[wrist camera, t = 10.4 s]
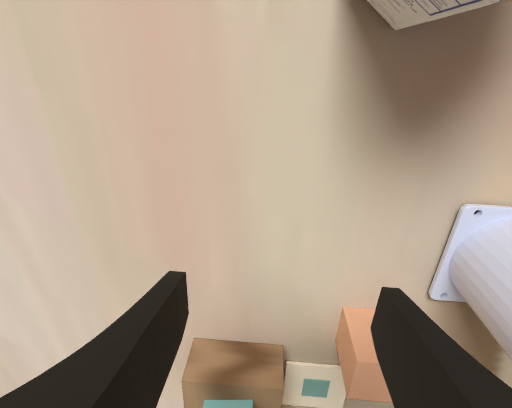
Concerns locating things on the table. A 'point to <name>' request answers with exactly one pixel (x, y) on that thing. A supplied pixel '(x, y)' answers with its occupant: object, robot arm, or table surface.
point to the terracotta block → (360, 357)
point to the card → (313, 385)
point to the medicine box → (422, 10)
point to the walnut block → (233, 373)
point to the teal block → (228, 404)
